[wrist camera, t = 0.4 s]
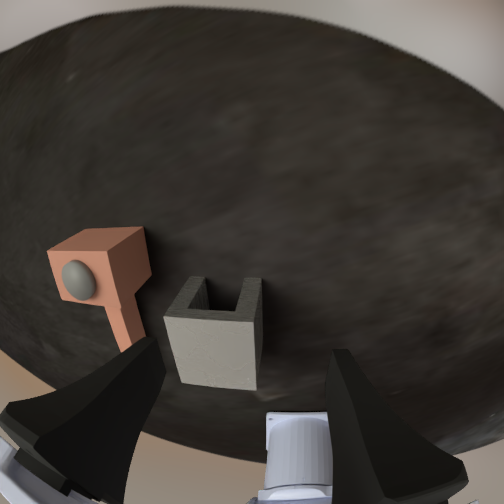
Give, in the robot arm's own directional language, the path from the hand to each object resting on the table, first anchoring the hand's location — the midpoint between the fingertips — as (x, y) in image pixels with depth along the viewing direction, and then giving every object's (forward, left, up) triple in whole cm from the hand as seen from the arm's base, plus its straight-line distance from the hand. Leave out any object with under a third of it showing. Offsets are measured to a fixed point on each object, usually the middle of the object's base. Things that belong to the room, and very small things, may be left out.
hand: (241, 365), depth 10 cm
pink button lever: (-4, +12, -10) cm, 16 cm away
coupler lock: (-4, +3, -10) cm, 11 cm away
